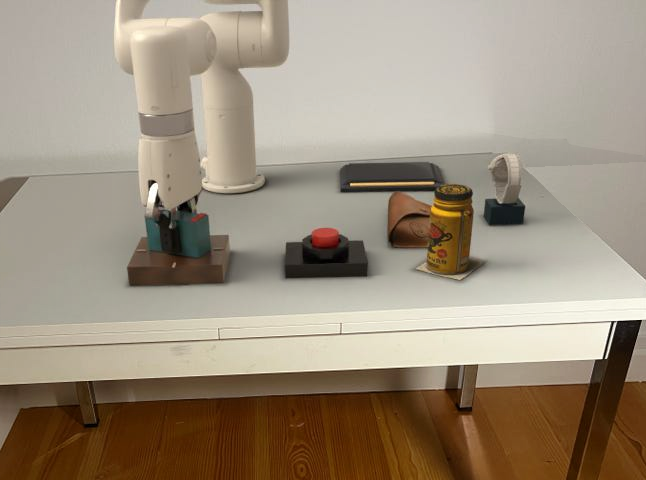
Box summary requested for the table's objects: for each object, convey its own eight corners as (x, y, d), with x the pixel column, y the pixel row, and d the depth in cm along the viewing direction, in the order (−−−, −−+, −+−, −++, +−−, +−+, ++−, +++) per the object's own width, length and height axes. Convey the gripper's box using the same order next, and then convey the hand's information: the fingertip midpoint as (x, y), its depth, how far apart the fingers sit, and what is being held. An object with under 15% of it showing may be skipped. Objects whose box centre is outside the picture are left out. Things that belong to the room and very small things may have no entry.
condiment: (414, 270, 112) (419, 191, 106) (442, 251, 117) (449, 175, 111) (459, 281, 107) (467, 200, 101) (486, 262, 113) (495, 183, 107)
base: (128, 287, 111) (125, 267, 109) (144, 252, 122) (142, 234, 121) (223, 285, 110) (221, 265, 108) (230, 250, 121) (229, 232, 120)
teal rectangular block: (148, 250, 115) (144, 213, 112) (161, 241, 118) (157, 206, 115) (198, 258, 111) (195, 221, 108) (211, 249, 114) (208, 213, 111)
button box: (285, 278, 111) (284, 253, 109) (286, 255, 119) (285, 231, 117) (367, 276, 110) (368, 251, 108) (362, 253, 118) (363, 228, 116)
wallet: (439, 159, 154) (446, 181, 141) (438, 168, 155) (445, 191, 142) (340, 160, 156) (338, 182, 143) (340, 169, 157) (338, 192, 144)
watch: (513, 211, 131) (521, 147, 125) (525, 227, 124) (535, 161, 118) (480, 212, 131) (487, 149, 126) (491, 229, 124) (499, 162, 119)
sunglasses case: (443, 245, 118) (423, 210, 115) (402, 266, 120) (382, 232, 118) (436, 207, 133) (418, 175, 131) (400, 226, 136) (382, 195, 133)
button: (312, 248, 111) (312, 237, 110) (311, 238, 115) (311, 227, 114) (339, 248, 111) (339, 236, 110) (338, 238, 114) (338, 227, 113)
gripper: (176, 108, 113) (187, 225, 122) (109, 135, 100) (127, 263, 110) (220, 111, 110) (228, 231, 119) (155, 140, 97) (170, 271, 106)
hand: (179, 245), depth 114 cm, fingers closed on teal rectangular block, 3 cm apart
